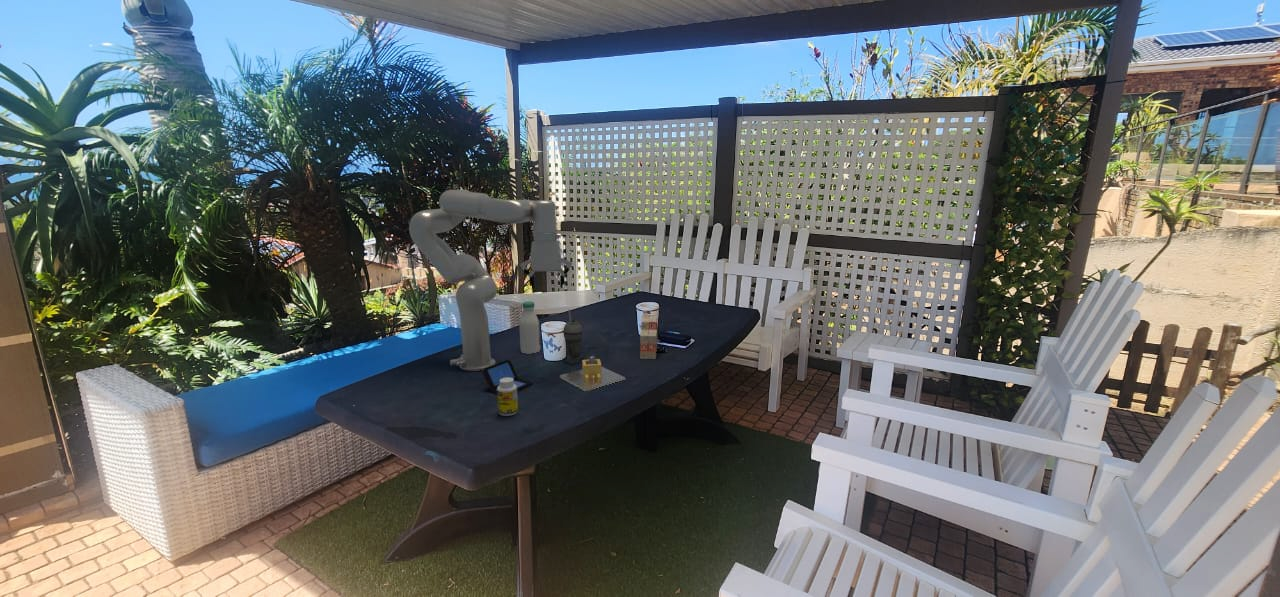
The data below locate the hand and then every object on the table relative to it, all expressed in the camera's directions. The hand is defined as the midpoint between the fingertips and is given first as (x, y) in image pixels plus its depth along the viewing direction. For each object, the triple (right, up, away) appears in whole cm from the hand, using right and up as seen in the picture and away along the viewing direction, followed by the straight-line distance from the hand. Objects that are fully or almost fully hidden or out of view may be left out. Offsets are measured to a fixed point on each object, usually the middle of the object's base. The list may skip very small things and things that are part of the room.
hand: (547, 287), depth 182 cm
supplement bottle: (-7, -37, -27) cm, 47 cm away
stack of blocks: (+35, -25, +29) cm, 52 cm away
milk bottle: (-12, -25, +29) cm, 40 cm away
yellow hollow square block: (+16, -31, -3) cm, 35 cm away
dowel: (+16, -32, -6) cm, 37 cm away
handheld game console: (-11, -33, -8) cm, 36 cm away
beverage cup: (+7, -27, +17) cm, 33 cm away
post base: (+16, -31, -1) cm, 35 cm away
